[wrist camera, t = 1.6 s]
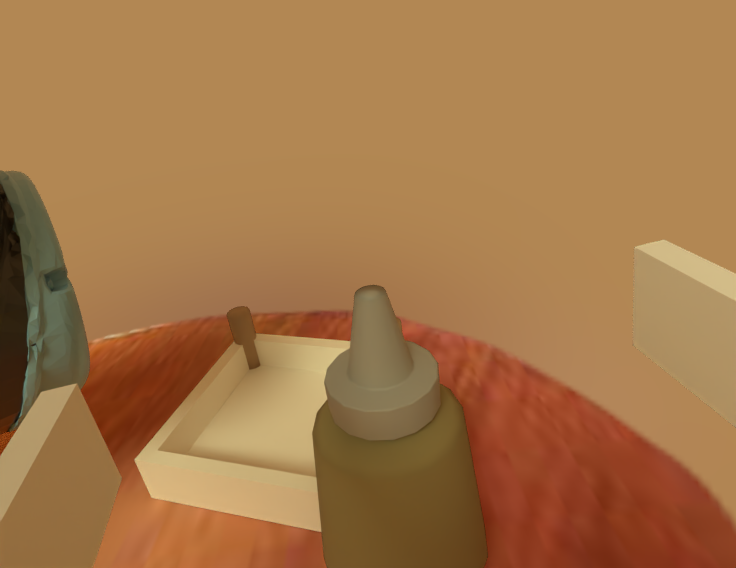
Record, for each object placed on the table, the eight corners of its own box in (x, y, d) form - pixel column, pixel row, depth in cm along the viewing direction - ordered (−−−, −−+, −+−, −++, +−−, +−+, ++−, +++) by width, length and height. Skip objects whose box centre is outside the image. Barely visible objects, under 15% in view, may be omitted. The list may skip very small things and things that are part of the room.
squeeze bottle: (430, 497, 34) (404, 227, 25) (523, 608, 28) (531, 299, 19) (310, 565, 31) (233, 287, 22) (383, 707, 25) (315, 396, 16)
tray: (150, 497, 37) (119, 430, 34) (250, 364, 48) (233, 305, 45) (353, 538, 32) (337, 465, 29) (410, 381, 44) (403, 317, 41)
